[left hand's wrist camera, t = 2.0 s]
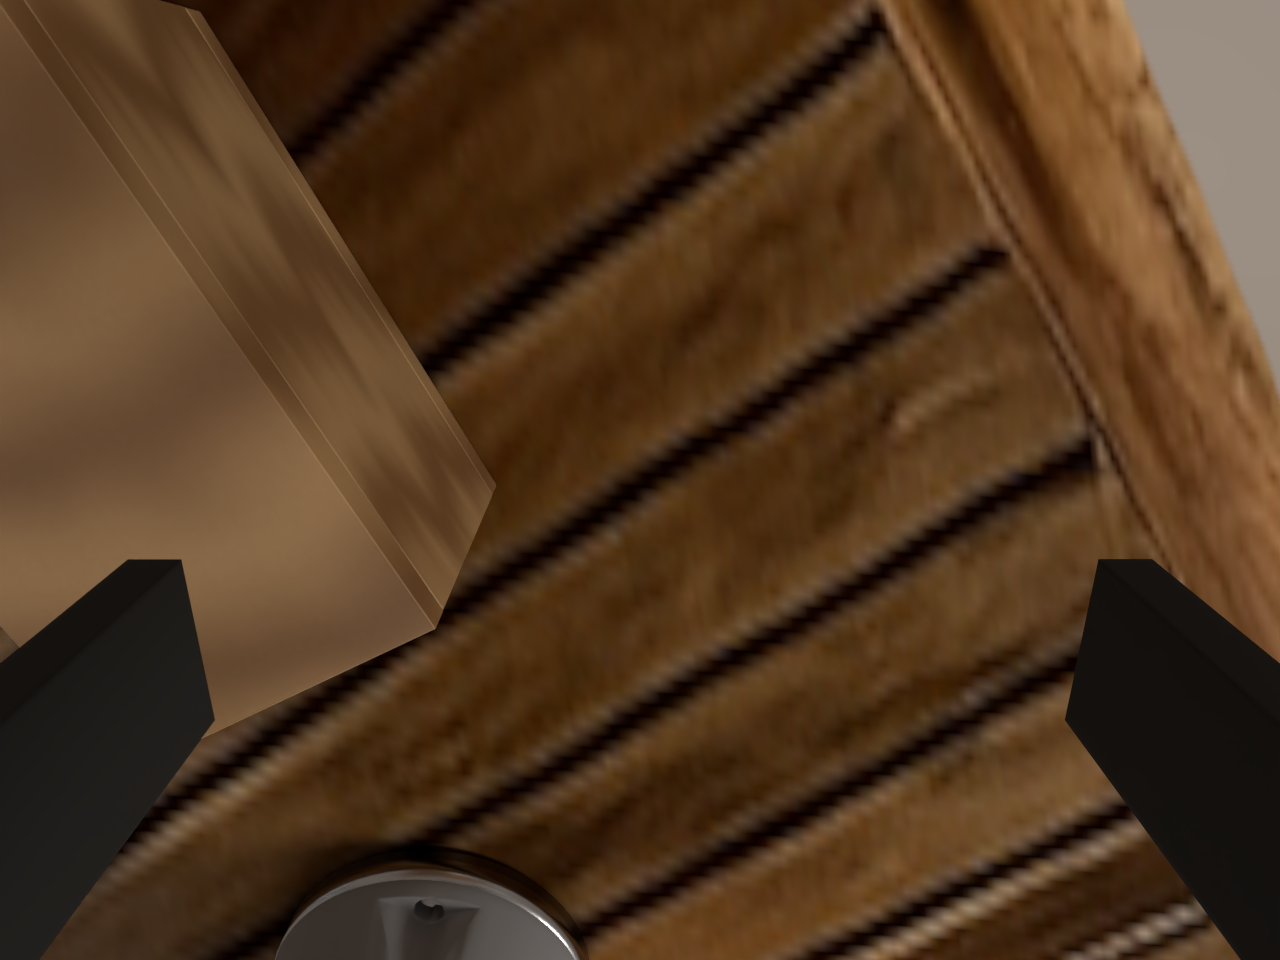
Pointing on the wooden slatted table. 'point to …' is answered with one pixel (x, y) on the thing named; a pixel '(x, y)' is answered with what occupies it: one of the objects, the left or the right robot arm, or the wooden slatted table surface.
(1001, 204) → the wooden slatted table surface
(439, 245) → the wooden slatted table surface
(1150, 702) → the left robot arm
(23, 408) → the cabinet
